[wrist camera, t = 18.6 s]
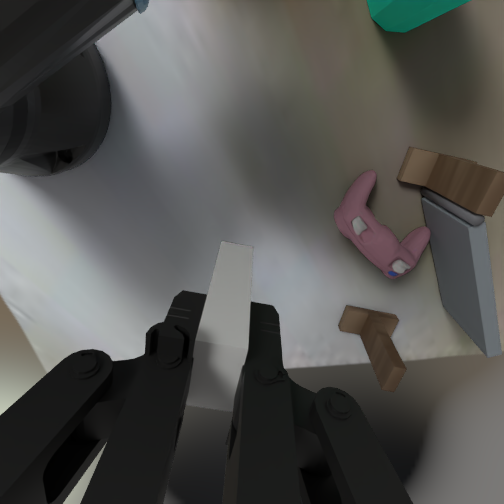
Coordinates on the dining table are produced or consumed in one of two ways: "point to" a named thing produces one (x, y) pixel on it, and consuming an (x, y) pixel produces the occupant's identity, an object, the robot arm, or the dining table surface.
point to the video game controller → (377, 231)
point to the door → (463, 268)
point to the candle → (408, 12)
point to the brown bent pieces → (452, 187)
